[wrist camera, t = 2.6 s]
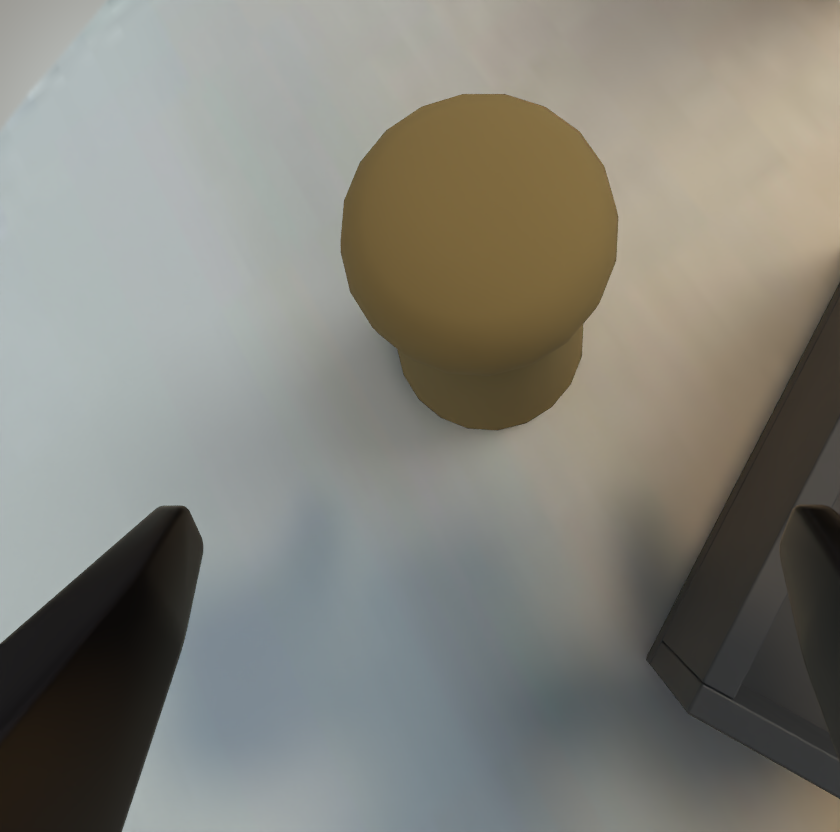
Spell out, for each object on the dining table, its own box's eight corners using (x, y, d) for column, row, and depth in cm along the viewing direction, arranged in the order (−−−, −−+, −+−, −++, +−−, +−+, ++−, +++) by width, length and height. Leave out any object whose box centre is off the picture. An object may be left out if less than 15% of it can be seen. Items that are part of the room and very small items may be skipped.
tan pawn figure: (573, 236, 22) (638, 3, 11) (593, 421, 22) (683, 363, 11) (389, 259, 23) (284, 60, 12) (404, 438, 22) (308, 402, 11)
